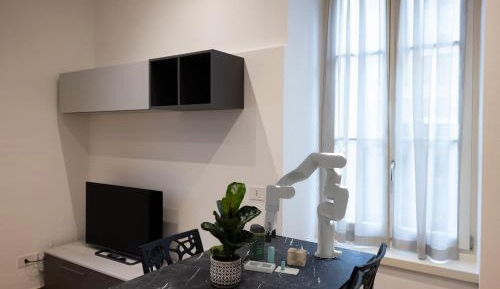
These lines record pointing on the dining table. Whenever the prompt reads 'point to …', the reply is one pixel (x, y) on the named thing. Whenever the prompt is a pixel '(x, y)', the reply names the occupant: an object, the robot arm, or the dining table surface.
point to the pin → (271, 255)
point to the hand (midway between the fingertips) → (270, 240)
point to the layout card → (286, 269)
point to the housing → (296, 257)
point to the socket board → (259, 266)
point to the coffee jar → (257, 242)
